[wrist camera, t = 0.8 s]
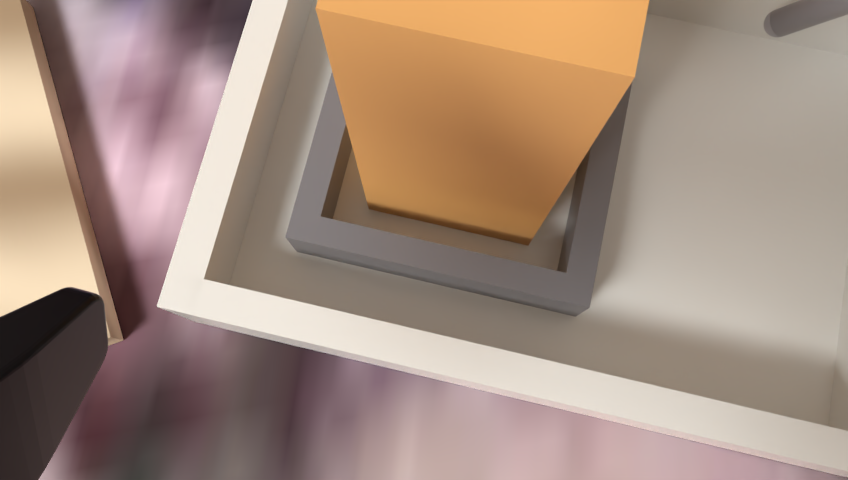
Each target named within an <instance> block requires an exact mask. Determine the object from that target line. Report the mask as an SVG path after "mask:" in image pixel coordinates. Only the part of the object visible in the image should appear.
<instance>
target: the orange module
mask: <svg viewBox="0 0 848 480" xmlns="http://www.w3.org/2000/svg"><path fill="white" fill-rule="evenodd" d="M648 5H649V0H318V1H317V5H316V8H315V9H316V12H317V16H318V20H319V24H320V27H321V31H322V35H323V39H324V42H325V46H326V50H327V54H328V58H329V61H330V65H331V69H332V73H333V76H334V80H335V84H336V88H337V91H338V95H339V99H340V103H341V106H342V110H343V114H344V118H345V121H346V125H347V129H348V133H349V136H350V140H351V144H352V148H353V152H354V155H355V159H356V163H357V167H358V170H359V174H360V178H361V182H362V185H363V189H364V193H365V197H366V200H367V204H368V208H369V209H370V210H375V211H379V212H383V213H388V214H392V215H396V216H401V217H405V218H410V219H414V220H418V221H423V222H427V223H431V224H436V225H440V226H445V227H449V228H453V229H458V230H462V231H466V232H471V233H475V234H480V235H484V236H488V237H493V238H497V239H501V240H506V241H510V242H515V243H519V244H523V245H529V244H530V242H531V241H532V239H533V237H534V236H535V234H536V233H537V231H538V230H539V228H540V226H541V225H542V223H543V222H544V220H545V219H546V217H547V215H548V214H549V212H550V211H551V209H552V207H553V206H554V204H555V203H556V201H557V200H558V198H559V196H560V195H561V193H562V192H563V190H564V188H565V187H566V185H567V184H568V182H569V181H570V179H571V177H572V176H573V174H574V173H575V171H576V170H577V168H578V166H579V165H580V163H581V162H582V160H583V158H584V157H585V155H586V154H587V152H588V151H589V149H590V147H591V146H592V144H593V143H594V141H595V139H596V138H597V136H598V135H599V133H600V132H601V130H602V128H603V127H604V125H605V124H606V122H607V120H608V119H609V117H610V116H611V114H612V113H613V111H614V109H615V108H616V106H617V105H618V103H619V102H620V100H621V98H622V97H623V95H624V94H625V92H626V90H627V89H628V87H629V86H630V84H631V83H632V81H633V79H634V78H635V74H636V68H637V63H638V58H639V52H640V47H641V42H642V36H643V31H644V26H645V21H646V15H647V10H648Z"/></svg>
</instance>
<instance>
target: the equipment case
mask: <svg viewBox="0 0 848 480" xmlns="http://www.w3.org/2000/svg"><path fill="white" fill-rule="evenodd" d="M317 1H318V0H253V1H252V4H251V8H250V11H249V14H248V17H247V20H246V24H245V27H244V30H243V33H242V36H241V40H240V43H239V46H238V49H237V52H236V55H235V59H234V62H233V65H232V68H231V71H230V75H229V78H228V81H227V84H226V87H225V91H224V94H223V97H222V100H221V103H220V106H219V110H218V113H217V116H216V119H215V122H214V126H213V129H212V132H211V135H210V138H209V142H208V145H207V148H206V151H205V154H204V157H203V161H202V164H201V167H200V170H199V173H198V177H197V180H196V183H195V186H194V189H193V193H192V196H191V199H190V202H189V205H188V208H187V212H186V215H185V218H184V221H183V224H182V228H181V231H180V234H179V237H178V240H177V244H176V247H175V250H174V253H173V256H172V259H171V263H170V266H169V269H168V272H167V275H166V279H165V282H164V285H163V288H162V291H161V295H160V298H159V301H158V304H157V307H159V308H161V309H164V310H166V311H169V312H171V313H174V314H177V315H179V316H182V317H184V318H187V319H189V320H192V321H194V322H198V323H202V324H206V325H210V326H215V327H219V328H223V329H227V330H231V331H235V332H240V333H244V334H248V335H252V336H256V337H261V338H265V339H269V340H273V341H277V342H282V343H286V344H290V345H294V346H298V347H302V348H307V349H311V350H315V351H319V352H323V353H328V354H332V355H336V356H340V357H344V358H349V359H353V360H357V361H361V362H365V363H369V364H374V365H378V366H382V367H386V368H390V369H395V370H399V371H403V372H407V373H411V374H415V375H420V376H424V377H428V378H432V379H436V380H441V381H445V382H449V383H453V384H457V385H462V386H466V387H470V388H474V389H478V390H482V391H487V392H491V393H495V394H499V395H503V396H508V397H512V398H516V399H520V400H524V401H529V402H533V403H537V404H541V405H545V406H549V407H554V408H558V409H562V410H566V411H570V412H575V413H579V414H583V415H587V416H591V417H596V418H600V419H604V420H608V421H612V422H616V423H621V424H625V425H629V426H633V427H637V428H642V429H646V430H650V431H654V432H658V433H663V434H667V435H671V436H675V437H679V438H683V439H688V440H692V441H696V442H700V443H704V444H709V445H713V446H717V447H721V448H725V449H729V450H734V451H738V452H742V453H746V454H750V455H755V456H759V457H763V458H767V459H771V460H776V461H780V462H784V463H788V464H792V465H796V466H801V467H805V468H809V469H813V470H817V471H822V472H826V473H830V474H834V475H838V476H844V477H848V0H649V5H648V10H647V15H646V21H645V26H644V31H643V36H642V42H641V47H640V52H639V58H638V63H637V68H636V74H635V78H634V79H633V81H632V83H631V84H630V86H629V87H628V89H627V90H626V92H625V94H624V95H623V97H622V98H621V100H620V102H619V103H618V105H617V106H616V108H615V109H614V111H613V113H612V114H611V116H610V117H609V119H608V120H607V122H606V124H605V125H604V127H603V128H602V130H601V132H600V133H599V135H598V136H597V138H596V139H595V141H594V143H593V144H592V146H591V147H590V149H589V151H588V152H587V154H586V155H585V157H584V158H583V160H582V162H581V163H580V165H579V166H578V168H577V170H576V171H575V173H574V174H573V176H572V177H571V179H570V181H569V182H568V184H567V185H566V187H565V188H564V190H563V192H562V193H561V195H560V196H559V198H558V200H557V201H556V203H555V204H554V206H553V207H552V209H551V211H550V212H549V214H548V215H547V217H546V219H545V220H544V222H543V223H542V225H541V226H540V228H539V230H538V231H537V233H536V234H535V236H534V237H533V239H532V241H531V242H530V244H529V245H523V244H519V243H515V242H510V241H506V240H501V239H497V238H493V237H488V236H484V235H480V234H475V233H471V232H466V231H462V230H458V229H453V228H449V227H445V226H440V225H436V224H431V223H427V222H423V221H418V220H414V219H410V218H405V217H401V216H396V215H392V214H388V213H383V212H379V211H375V210H370V209H369V208H368V204H367V200H366V197H365V193H364V189H363V185H362V182H361V178H360V174H359V170H358V167H357V163H356V159H355V155H354V152H353V148H352V144H351V140H350V136H349V133H348V129H347V125H346V121H345V118H344V114H343V110H342V106H341V103H340V99H339V95H338V91H337V88H336V84H335V80H334V76H333V73H332V69H331V65H330V61H329V58H328V54H327V50H326V46H325V42H324V39H323V35H322V31H321V27H320V24H319V20H318V16H317V12H316V9H315V8H316V5H317Z"/></svg>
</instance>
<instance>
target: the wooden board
mask: <svg viewBox="0 0 848 480" xmlns="http://www.w3.org/2000/svg"><path fill="white" fill-rule="evenodd" d="M66 287H74V288H78V289H82V290H85V291H89V292H92V293H96V294H98V295H100V296H101V297H102V299H103V301H104V305H105V315H106V325H107V335H108V346H109V345H112V344H114V343H117V342H120V341H123V336H122V333H121V329H120V325H119V322H118V318H117V314H116V311H115V307H114V303H113V300H112V296H111V292H110V289H109V285H108V281H107V278H106V274H105V270H104V267H103V263H102V259H101V256H100V252H99V248H98V245H97V241H96V237H95V234H94V230H93V226H92V223H91V219H90V215H89V212H88V208H87V204H86V201H85V197H84V193H83V189H82V186H81V182H80V178H79V175H78V171H77V167H76V164H75V160H74V156H73V153H72V149H71V145H70V142H69V138H68V134H67V131H66V127H65V123H64V120H63V116H62V112H61V109H60V105H59V101H58V98H57V94H56V90H55V87H54V83H53V79H52V76H51V72H50V68H49V65H48V61H47V57H46V54H45V50H44V46H43V43H42V39H41V35H40V31H39V28H38V24H37V20H36V17H35V13H34V9H33V7H32V6H31V5H30V4H29V3H28V2H27V1H26V0H0V317H1V316H3V315H5V314H7V313H10V312H12V311H14V310H16V309H18V308H21V307H23V306H25V305H27V304H29V303H31V302H34V301H36V300H38V299H40V298H42V297H44V296H47V295H49V294H51V293H53V292H55V291H58V290H60V289H62V288H66Z"/></svg>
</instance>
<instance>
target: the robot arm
mask: <svg viewBox="0 0 848 480" xmlns="http://www.w3.org/2000/svg"><path fill="white" fill-rule="evenodd" d="M107 349H108V335H107V325H106V315H105V305H104V301H103V299H102V297H101V296H100V295H98V294H96V293H92V292H89V291H85V290H82V289H78V288H74V287H66V288H62V289H60V290H58V291H55V292H53V293H51V294H49V295H47V296H44V297H42V298H40V299H38V300H36V301H34V302H31V303H29V304H27V305H25V306H23V307H21V308H18V309H16V310H14V311H12V312H10V313H7V314H5V315H3V316H1V317H0V480H38V479H39V478H40V476H41V474H42V473H43V471H44V470H45V468H46V466H47V465H48V463H49V461H50V459H51V458H52V456H53V454H54V452H55V451H56V449H57V447H58V445H59V443H60V441H61V439H62V438H63V436H64V434H65V432H66V430H67V428H68V426H69V425H70V423H71V421H72V419H73V417H74V415H75V413H76V412H77V410H78V408H79V406H80V404H81V402H82V400H83V399H84V397H85V395H86V393H87V391H88V389H89V387H90V386H91V384H92V382H93V380H94V378H95V376H96V374H97V373H98V371H99V369H100V367H101V365H102V363H103V361H104V359H105V356H106V353H107Z"/></svg>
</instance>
